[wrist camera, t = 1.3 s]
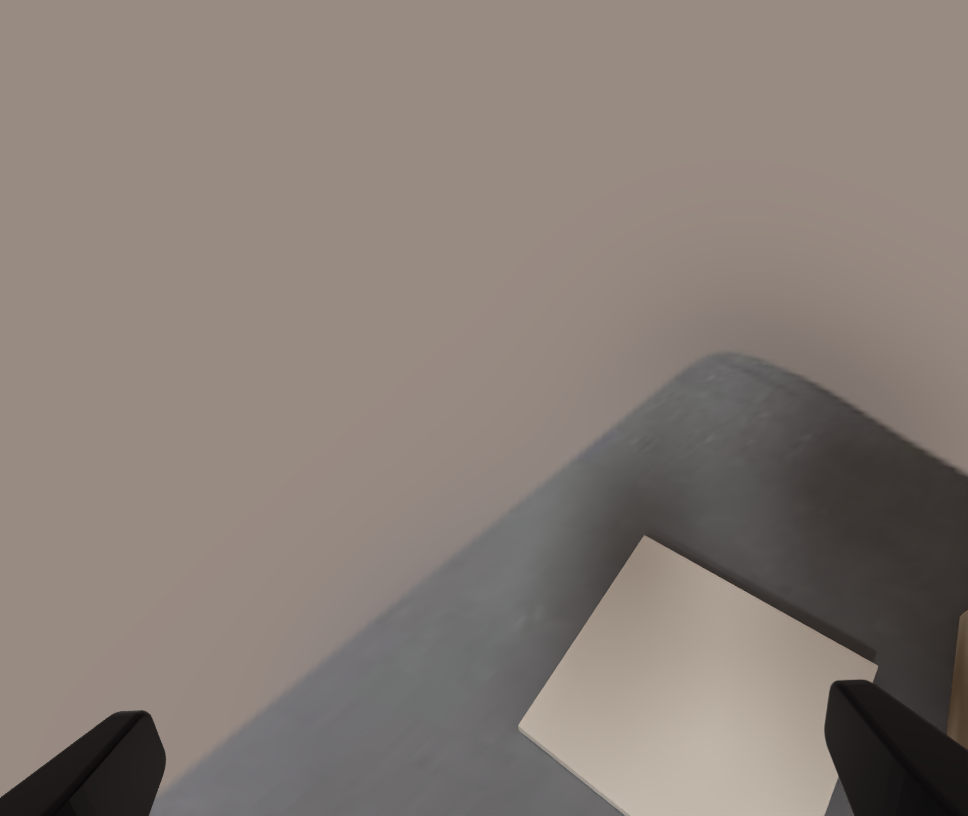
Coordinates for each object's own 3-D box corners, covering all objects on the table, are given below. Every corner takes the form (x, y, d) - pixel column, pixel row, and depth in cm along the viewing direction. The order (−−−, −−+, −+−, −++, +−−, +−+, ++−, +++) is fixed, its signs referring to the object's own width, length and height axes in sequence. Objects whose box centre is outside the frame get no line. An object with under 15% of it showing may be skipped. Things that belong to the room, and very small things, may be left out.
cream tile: (872, 671, 22) (878, 666, 21) (775, 936, 18) (780, 935, 17) (642, 541, 26) (644, 535, 25) (518, 730, 22) (517, 725, 21)
